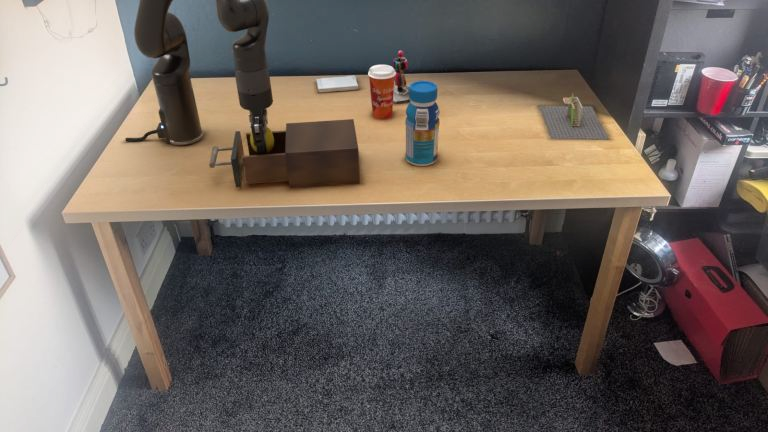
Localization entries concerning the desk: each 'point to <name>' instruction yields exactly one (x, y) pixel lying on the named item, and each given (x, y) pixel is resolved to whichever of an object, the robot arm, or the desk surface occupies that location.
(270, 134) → the lemon
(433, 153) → the beverage bottle
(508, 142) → the desk surface
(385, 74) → the paper cup
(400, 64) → the statue
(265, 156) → the drawer
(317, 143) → the cabinet
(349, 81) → the hard drive
